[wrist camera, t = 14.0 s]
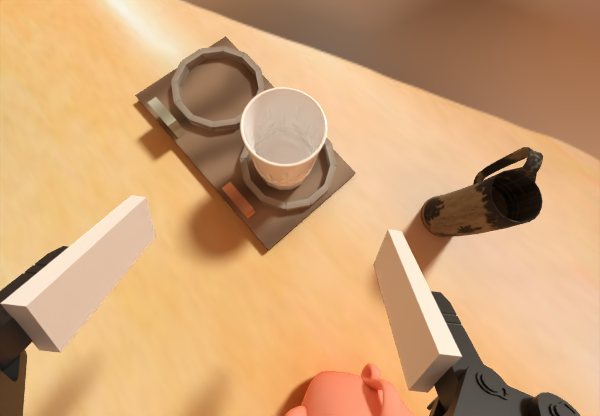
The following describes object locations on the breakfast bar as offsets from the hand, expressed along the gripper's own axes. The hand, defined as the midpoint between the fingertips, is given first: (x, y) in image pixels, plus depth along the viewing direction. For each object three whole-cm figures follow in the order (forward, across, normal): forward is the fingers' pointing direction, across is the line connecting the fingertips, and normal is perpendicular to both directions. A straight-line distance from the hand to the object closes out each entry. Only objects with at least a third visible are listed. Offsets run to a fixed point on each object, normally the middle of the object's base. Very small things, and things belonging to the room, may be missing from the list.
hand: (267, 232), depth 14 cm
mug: (+18, +22, -7) cm, 29 cm away
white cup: (+19, 0, -4) cm, 20 cm away
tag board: (+22, -6, -2) cm, 23 cm away
